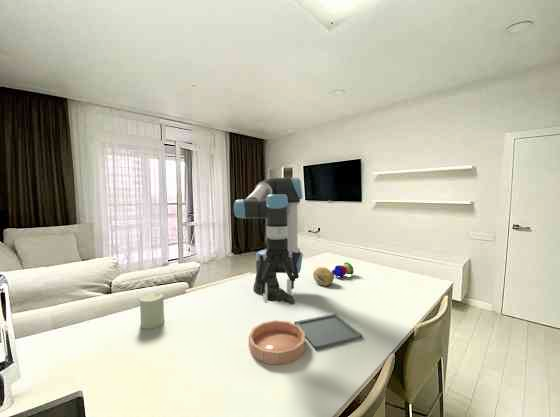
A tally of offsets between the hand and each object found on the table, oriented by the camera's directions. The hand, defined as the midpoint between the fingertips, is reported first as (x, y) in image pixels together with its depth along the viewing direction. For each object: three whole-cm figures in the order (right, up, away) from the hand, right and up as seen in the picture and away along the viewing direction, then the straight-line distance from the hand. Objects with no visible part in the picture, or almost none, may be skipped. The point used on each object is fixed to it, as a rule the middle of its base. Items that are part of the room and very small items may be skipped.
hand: (277, 299), depth 88 cm
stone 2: (+28, -14, +63) cm, 71 cm away
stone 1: (0, -1, 0) cm, 1 cm away
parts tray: (+20, -17, +10) cm, 28 cm away
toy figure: (+44, -13, +77) cm, 89 cm away
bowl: (0, -17, +1) cm, 17 cm away
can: (-54, -17, +17) cm, 59 cm away
